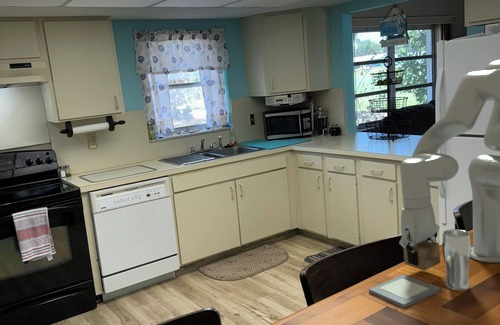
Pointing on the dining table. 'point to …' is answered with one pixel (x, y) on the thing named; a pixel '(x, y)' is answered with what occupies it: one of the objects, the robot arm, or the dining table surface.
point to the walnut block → (425, 255)
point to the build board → (404, 290)
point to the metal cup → (456, 258)
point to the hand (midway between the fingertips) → (422, 259)
